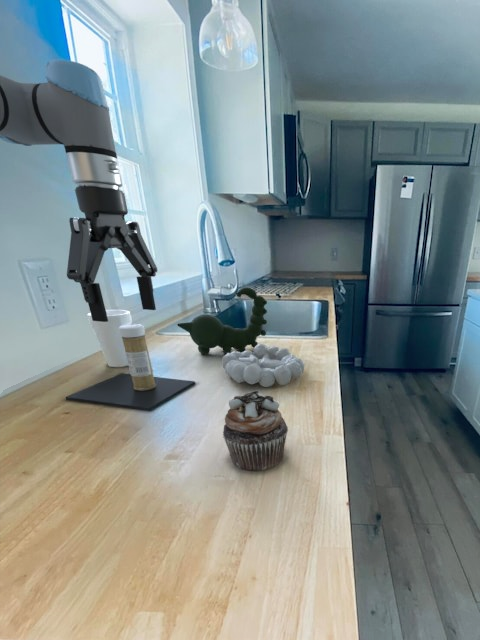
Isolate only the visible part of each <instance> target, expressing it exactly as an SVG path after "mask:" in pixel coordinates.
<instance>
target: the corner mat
mask: <svg viewBox="0 0 480 640" xmlns="http://www.w3.org/2000/svg"><path fill="white" fill-rule="evenodd" d="M153 377H154V381H155V384H156V387H155V388H153V389H151V390H147V391H138V390H135V389H134V384H133V380H132V376H131V374H130V373H124V372H121V373H119V374H116V375H114V376H112V377H109V378H106V379H104V380H102V381H99V382H97V383H95V384H93V385H90V386H88V387H85V388H83V389H81V390H78V391H76V392H74V393H72V394H69V395H67V396H65V400H68V401H74V402H82V403H89V404H95V405H96V404H97V405H103V406H111V407H117V408H125V409H131V410H141V411H148V412H151V411H152V410H154V409H156V408H158V407H159V406H160V405H162V404H164V403H165V402H166V403H167V401H169V400H171V399H172V398H175V397H176V396H177V395H179V394H180V393H182V392H184V391H186V390H187V389H189V388H191V387H192V386H194V385H196V381H194V380H187V379H186V380H185V379H176V378H169V377H159V376H153Z"/></svg>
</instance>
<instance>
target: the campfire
mask: <svg viewBox="0 0 480 640" xmlns="http://www.w3.org/2000/svg"><path fill="white" fill-rule="evenodd" d="M252 350H253V351H251V350H247V349H245V351H244V352H240V351H239V350H238V351H237V350H235V351H234V350H233V351H232V350H231V351H230V352H228V353H226V354H224V355H223V357H222V358H221V367H222V370H224V371H225V374H227V375H228V376H229V377H230V378H232V380H234V381H235V382H237V383H238V384H239V383H243V382H246V383H247V384H249V385H255V384H257V383H259V384H260V386H262V387H264V388H270V387H272V386H273V385H274V384H275V383H276V382H277V384H279V385H280V386H287V385H288V384H289V383H290V381H291V380H297V379H300V378H301V376H302V374H303V373H304V371H305V366H306V364H305V361H304V360H302V359H301V358H298V357H297V356H295V355H293V354H292V352H291V350H290V349H289V348H287V347H285V348H284V347H283V348H280V347H279V346H276V345H273V346H269V347H268V346H267V345H266V344H264V343H258V345H256V346H255V348H254V347H253V349H252Z"/></svg>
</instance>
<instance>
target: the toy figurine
mask: <svg viewBox="0 0 480 640" xmlns="http://www.w3.org/2000/svg"><path fill="white" fill-rule="evenodd" d="M243 295H244V296H246V297H248V298H249V299H251V300H252V303H253V305H252V307H251V314H250V317H249V323H247V325H246V327H243V328H239V327H237V328H233V326H231V325H228V324H223V323H222V321H221V320H220V319H219V318H218V317H216V316H214V315H212V314H208V313H202V314H199V315H196V316H195V317H194V318H193V319H192V320H191V321H189V322H180V323H177V324H176V325H177V327H179V328H180V329H182V330H184V331H186V332H187V333H189V336H190V338H191V340H192V341H193V343H194V344H195V345H196V346H197V350H198V352H199V353H200V354H201V355H204V356H205V355H208V354H209V353H210V351H211V349H214V348H216V347H219V348H221V349H222V351H223V352H224V353H226V354H227V353H231V352H232V349H234V350H238V352H240V353H241V352H244V351H245V350H246V348H247V347H248V346H251V347H252V348H253V349H254V348H255V346H256V345H258V344H259V342H258V341H257V339H258V337H260V336H262V337H265V336H266V335H267V331H266V330H265V329H263V326H264V325H267V323H268V321H267V319H265V318H264V316H265V315H266V314H267V313H268V310H267V309H266V307H265V305H267V304H268V301H267V300H266V299H265V298H264V297H263V296H262V295H258V294H257V292H256V290H255V289H254V288H251V287H242V288H241V289H239V290H238V291H237V292H236V297H237V298H239V297H240V296H243Z"/></svg>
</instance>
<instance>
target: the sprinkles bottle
mask: <svg viewBox="0 0 480 640" xmlns="http://www.w3.org/2000/svg"><path fill="white" fill-rule="evenodd" d="M119 332H120V336H121V337H122V339H123V343H124V347H125V353H126V357H127V361H128V365H129V366H128V369H129V374H131V376H132V380H133V384H134V389H135V390H138V391H147V390H151V389H153V388H155V387H156V384H155V381H154V377H155V376H154V370H153V365H152V361H151V358H150V354H149V350H148V345H147V340H146V331H145V326H144V325H143V324H140V323H131V324H127V325H122V326H120V327H119Z"/></svg>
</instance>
